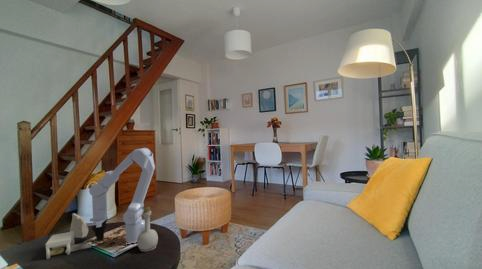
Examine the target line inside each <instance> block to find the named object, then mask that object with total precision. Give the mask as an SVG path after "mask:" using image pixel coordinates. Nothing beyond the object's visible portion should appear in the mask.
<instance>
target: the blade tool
mask: <svg viewBox="0 0 482 269" xmlns="http://www.w3.org/2000/svg"><path fill="white" fill-rule="evenodd" d="M102 241H104V242H105V235H104V236H103V240H102ZM98 242H101V241H98ZM85 243H86V242H81V243H77V244H74V245H72V246H70V253H71V252H76V251H80V250H85V249H89V248H92V247H91V246H92V245H88V244H85ZM65 254H67V248H66V250H65Z"/></svg>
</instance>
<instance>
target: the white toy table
mask: <svg viewBox="0 0 482 269" xmlns="http://www.w3.org/2000/svg"><path fill="white" fill-rule="evenodd" d="M72 245H75V238H74V231H71V232H70V231H67V232H63V233H55V234H52V235H51V236H50V237H49V239H48V240H47V242H46V243H45V252H46V253H45V255H46V260H49V259H51V256H50V251H51V250H54V249H56V248H66V249H67V253H66V255H71V252H70V246H72Z"/></svg>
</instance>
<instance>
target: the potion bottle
mask: <svg viewBox="0 0 482 269" xmlns="http://www.w3.org/2000/svg"><path fill="white" fill-rule="evenodd" d="M143 210H144V212H142V213H143V214H142V216H143V218H144V220H145V230H144V231H142V232H141V233H140V234H139V236H138V239H137V243H136V244H137V247H138V249H139V251H140V252H144V253H145V252H150V251H153V250H155V249H156V248H157V245H158V241H159V235H158V233H157V232H158V231H156V230H155V229H153V228H151V216H152V210H151V207H150V206H148V207H145V208H143Z"/></svg>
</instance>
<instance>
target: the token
mask: <svg viewBox="0 0 482 269" xmlns="http://www.w3.org/2000/svg"><path fill="white" fill-rule="evenodd" d="M64 252H65V247H63V248H56V249H54V250H52V249H50V257H51V256H52V257H53V256H57V255H60V254H62V253H64Z"/></svg>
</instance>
